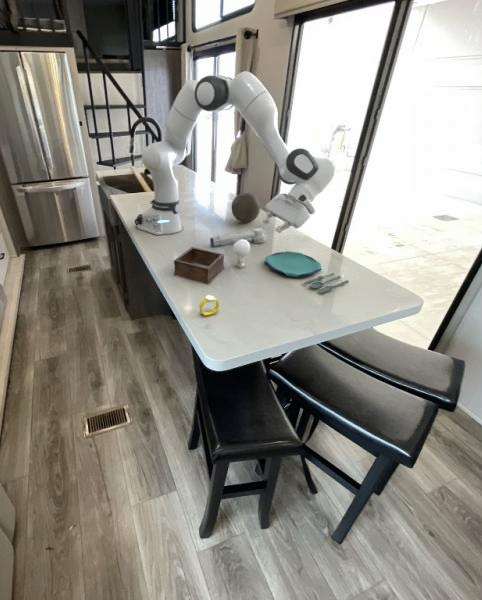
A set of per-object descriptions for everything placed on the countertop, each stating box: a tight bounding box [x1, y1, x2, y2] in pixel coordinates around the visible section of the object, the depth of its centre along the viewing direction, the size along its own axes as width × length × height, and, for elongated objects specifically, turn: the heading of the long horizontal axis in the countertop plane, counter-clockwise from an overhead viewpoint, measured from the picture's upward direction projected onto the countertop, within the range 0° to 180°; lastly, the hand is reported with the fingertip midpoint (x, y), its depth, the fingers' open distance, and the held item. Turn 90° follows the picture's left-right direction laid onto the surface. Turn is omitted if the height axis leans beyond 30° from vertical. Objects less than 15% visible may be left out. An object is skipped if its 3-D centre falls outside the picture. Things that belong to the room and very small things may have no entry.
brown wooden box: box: [173, 246, 225, 285], centre depth 118 cm, size 14×14×6 cm
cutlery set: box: [264, 250, 350, 294], centre depth 119 cm, size 20×30×2 cm, turn 28°
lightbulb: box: [232, 239, 251, 268], centre depth 120 cm, size 6×6×11 cm
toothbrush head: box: [209, 227, 267, 248], centre depth 140 cm, size 5×7×25 cm
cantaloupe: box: [231, 192, 261, 224], centre depth 160 cm, size 14×14×15 cm
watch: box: [198, 294, 220, 316], centre depth 95 cm, size 6×3×6 cm, turn 114°
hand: (270, 227), depth 120 cm, fingers open, 8 cm apart
